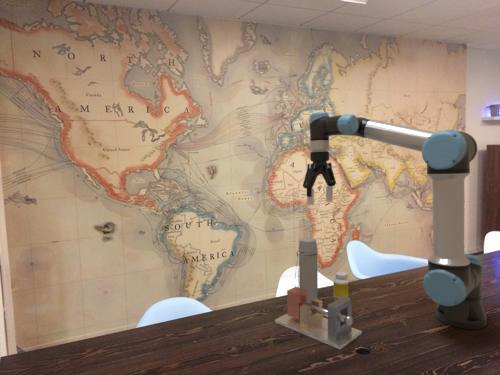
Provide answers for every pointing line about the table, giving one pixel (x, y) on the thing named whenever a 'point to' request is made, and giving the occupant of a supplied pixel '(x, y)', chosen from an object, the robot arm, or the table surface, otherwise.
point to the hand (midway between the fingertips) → (320, 203)
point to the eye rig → (324, 323)
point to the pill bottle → (341, 285)
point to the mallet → (299, 298)
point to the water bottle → (308, 267)
